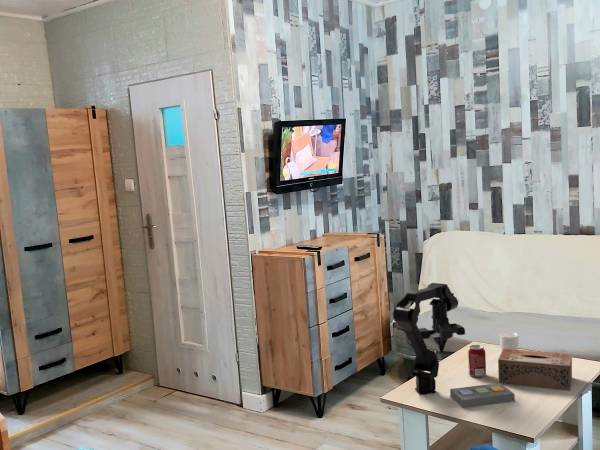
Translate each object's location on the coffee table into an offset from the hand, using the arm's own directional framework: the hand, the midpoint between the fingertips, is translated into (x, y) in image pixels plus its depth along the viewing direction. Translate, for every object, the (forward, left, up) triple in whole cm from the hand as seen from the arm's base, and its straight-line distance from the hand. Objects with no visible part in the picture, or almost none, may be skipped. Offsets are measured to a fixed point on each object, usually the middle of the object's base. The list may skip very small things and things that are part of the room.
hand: (441, 352), depth 242 cm
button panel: (+7, -21, -12) cm, 25 cm away
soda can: (+16, +2, -12) cm, 20 cm away
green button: (+7, -21, -12) cm, 25 cm away
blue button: (+1, -21, -12) cm, 24 cm away
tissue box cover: (+35, -10, -12) cm, 38 cm away
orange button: (+13, -21, -12) cm, 27 cm away
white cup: (+39, +19, -12) cm, 45 cm away
